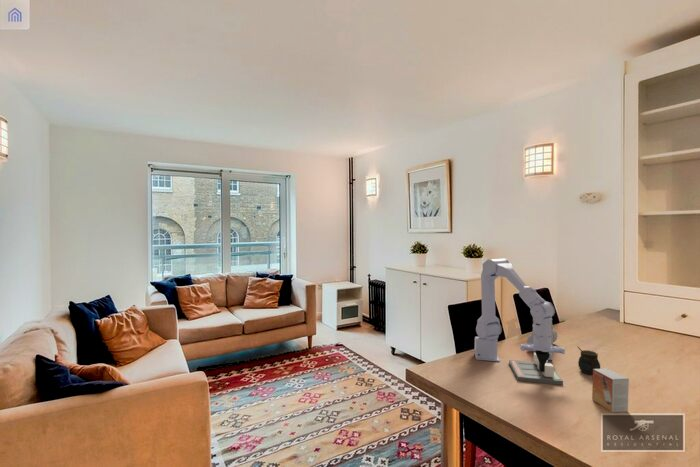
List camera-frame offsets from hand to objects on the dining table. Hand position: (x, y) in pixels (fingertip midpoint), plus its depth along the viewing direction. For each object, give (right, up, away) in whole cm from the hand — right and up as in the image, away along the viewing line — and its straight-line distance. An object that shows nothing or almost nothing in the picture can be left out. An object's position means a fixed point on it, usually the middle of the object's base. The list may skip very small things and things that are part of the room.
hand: (541, 370), depth 130 cm
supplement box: (+12, -3, +21) cm, 25 cm away
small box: (+11, -4, -19) cm, 22 cm away
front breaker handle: (+2, -1, 0) cm, 3 cm away
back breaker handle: (+4, -1, +10) cm, 11 cm away
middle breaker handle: (+3, -1, +5) cm, 6 cm away
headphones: (+20, -3, +35) cm, 40 cm away
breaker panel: (0, -3, +6) cm, 7 cm away
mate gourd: (+22, -3, +6) cm, 23 cm away
